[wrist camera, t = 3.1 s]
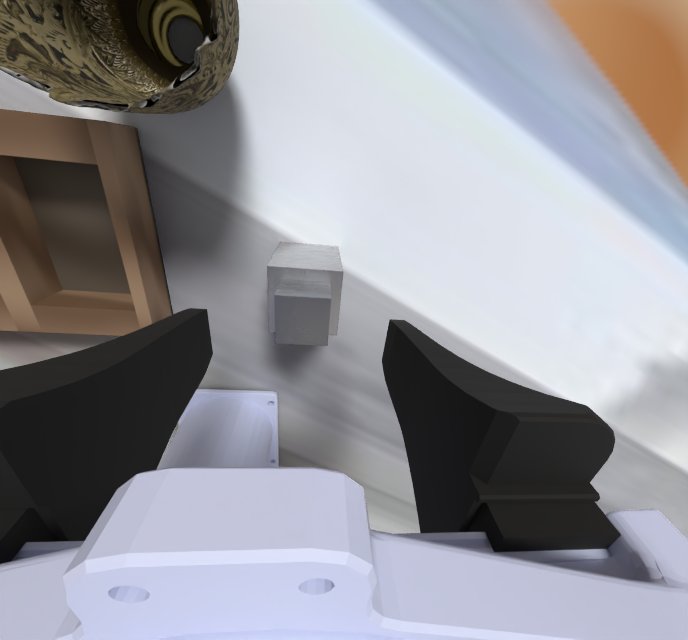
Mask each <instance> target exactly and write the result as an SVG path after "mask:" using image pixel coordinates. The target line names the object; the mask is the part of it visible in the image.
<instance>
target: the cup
mask: <svg viewBox="0 0 688 640" xmlns="http://www.w3.org/2000/svg"><path fill="white" fill-rule="evenodd" d="M178 17H186V18H189V19H191V20H192V21H193V22H195V23H196V24H197V26H198V27H199V28H200V30H201V32H202V34H203V44H202V45H201V46H199V47H198V48H197V49H196V51H195V53H194V54H195V55H194V61H193V62H191V63H190V64H187V63H185V62H183V61H181V60H180V59H179V58H178V57H177V56H176V55H175V54H174V53H173V51H172V49H171V47H170V44H169V41H168V29H169V26H170V24H171V22H172V21H173V20H174V19H175V18H178ZM238 41H239V11H238V3H237V0H0V70H2V71H4V72H5V73H7V74H9V75H11V76H13V77H15V78H17V79H19V80H21V81H24V82H26V83H28V84H30V85H32V86H33V87H35V88H37V89H40V90H42V91H45V92H47V93H50V94H49V97H50V98H52V99H54V100H56V101H58V102H61V103H65V104H68V105H72V106H78V107H91V108H99V109H104V110H111V111H115V112H132V113H148V114H173V113H179V112H185V111H189V110H192V109H195V108H197V107H199V106H202V105H203V104H205V103H206V102H208V101H209V100H211V99H212V98H213V97H214V96H215V95H217V94H218V92H219V91H220V90H221V89H222V88H223V86H224V85H225V83H226V82H227V80H228V78H229V76H230V74H231V72H232V69H233V66H234V63H235V59H236V55H237V49H238Z"/></svg>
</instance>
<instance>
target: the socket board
mask: <svg viewBox="0 0 688 640" xmlns="http://www.w3.org/2000/svg"><path fill="white" fill-rule="evenodd" d="M171 315H173V312H172V306H171V301H170V296H169V291H168V286H167V281H166V276H165V271H164V265H163V260H162V255H161V250H160V245H159V240H158V235H157V229H156V224H155V219H154V214H153V209H152V204H151V199H150V193H149V188H148V183H147V178H146V173H145V168H144V163H143V158H142V152H141V147H140V142H139V137H138V132H137V128H134V127H130V126H125V125H120V124H115V123H111V122H106V121H98V120H90V119H81V118H73V117H64V116H55V115H47V114H38V113H30V112H21V111H13V110H4V109H0V330H1V331H23V332H45V333H68V334H90V335H113V336H124V335H126V334H129V333H131V332H134V331H136V330H139V329H141V328H144V327H146V326H148V325H151V324H153V323H155V322H157V321H160V320H162V319H164V318H167V317H169V316H171Z"/></svg>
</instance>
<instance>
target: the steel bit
mask: <svg viewBox="0 0 688 640" xmlns="http://www.w3.org/2000/svg"><path fill="white" fill-rule="evenodd" d="M267 278H268V316H269V332H274V333H275V344H298V345H321V346H327V345H328V335H337V331H338V321H339V311H340V300H341V290H342V280H343V267H342V263H341V258H340V253H339V249H338V246H327V245H315V244H302V243H290V242H280V243H279V245H278V247H277V249H276V251H275V252H274V254H273V256H272V258H271V260H270V262H269V264H268V265H267Z"/></svg>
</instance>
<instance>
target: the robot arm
mask: <svg viewBox="0 0 688 640" xmlns="http://www.w3.org/2000/svg"><path fill="white" fill-rule="evenodd" d="M212 355H213V351H212V344H211V336H210V329H209V321H208V314H207V309H193V308H190V309H186V310H183V311H181V312H178V313H176V314H173V315H171V316H169V317H167V318H164V319H162V320H160V321H157V322H155V323H153V324H151V325H148V326H146V327H144V328H141V329H139V330H136V331H134V332H131V333H129V334H126V335H124V336H121V337H119V338H116V339H114V340H111V341H108V342H106V343H103V344H100V345H97V346H94V347H90V348H87V349H84V350H81V351H78V352H74V353H71V354H67V355H63V356H59V357H55V358H52V359H48V360H44V361H40V362H36V363H32V364H28V365H23V366H19V367H14V368H9V369H4V370H0V640H688V540H687V539H686V538H685V537H684V536H683V535H682V534H681V533H680V532H679V531H678V530H677V528H676V527H675V526H674V525H673V524H672V523H671V522H670V521H669V520H668V519H667V518H666V517H665V516H664V515H663V514H662V513H661V512H660V511H658V510H654V509H639V510H616V511H612V512H610V513H608V514H606V515H605V514H604V513H603V512H602V510H601V509H600V508H599V507H598V505H597V504H596V503H595V502H594V501H598V500H599V499H600V496H599V493H598V492H597V491H596V490H595V489H594V487H593V486H592V485H591V484H590V482H591V480H592V479H593V478H594V476H595V475H596V474H597V473H598V471H599V470H600V469H601V467H602V466H603V465H604V464H605V462H606V461H607V460H608V458H609V456H610V455H611V453H612V451H613V448H614V443H615V436H614V432H613V430H612V429H611V428H610V427H609V426H608V424H607V423H605V422H604V421H603V420H602V419H601V418H600V417H599V416H598V415H597V414H596V413H594V412H593V411H592V410H591V409H590V408H589V407H588V406H586V405H583V404H579V403H576V402H572V401H568V400H565V399H561V398H558V397H554V396H551V395H547V394H544V393H541V392H538V391H535V390H532V389H529V388H526V387H523V386H521V385H518V384H515V383H513V382H510V381H508V380H505V379H503V378H501V377H498V376H496V375H494V374H491V373H489V372H487V371H485V370H483V369H481V368H479V367H477V366H475V365H473V364H471V363H469V362H467V361H465V360H464V359H462V358H460V357H458V356H457V355H455V354H453V353H452V352H450V351H449V350H447V349H445V348H444V347H442V346H441V345H439V344H438V343H437V342H435V341H434V340H432V339H431V338H429V337H428V336H427V335H425V334H424V333H423V332H421V331H420V330H418V329H417V328H416V327H414V326H413V325H411V324H410V323H408V322H407V321H405V320H390V321H389V326H388V331H387V337H386V342H385V347H384V352H383V357H382V364H383V371H384V376H385V381H386V384H387V387H388V391H389V394H390V397H391V400H392V403H393V406H394V409H395V412H396V415H397V418H398V421H399V424H400V427H401V430H402V434H403V438H404V443H405V447H406V452H407V457H408V462H409V467H410V472H411V477H412V483H413V488H414V494H415V500H416V506H417V512H418V518H419V525H420V532H421V533H407V534H391V533H386V532H381V531H376V530H371V529H370V525H369V517H368V510H367V503H366V499H365V494H364V490H363V487H362V486H360V485H359V484H357V483H356V482H355V481H353V480H352V479H350V478H349V477H348V476H346V475H345V474H343V473H342V472H339V471H334V470H328V469H322V468H317V467H278V466H279V446H278V394H277V393H276V392H274V391H249V390H212V389H197V388H198V386H199V384H200V383H201V381H202V379H203V377H204V375H205V373H206V371H207V368H208V366H209V363H210V360H211V357H212ZM269 401H273V403H271V402H269ZM177 423H178V426H179V428H178V430H177V432H176V434H175V435H174V437H173V439H172V441H171V443H170V445H169V446H168V448H167V450H166V452H165V454H164V456H163V457H162V455H163V453H164V451H165V448H166V446H167V444H168V441H169V439H170V437H171V435H172V432H173V430H174V429H175V427H176V425H177ZM161 458H162V459H161ZM160 460H161V461H160ZM159 462H160V463H159Z"/></svg>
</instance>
